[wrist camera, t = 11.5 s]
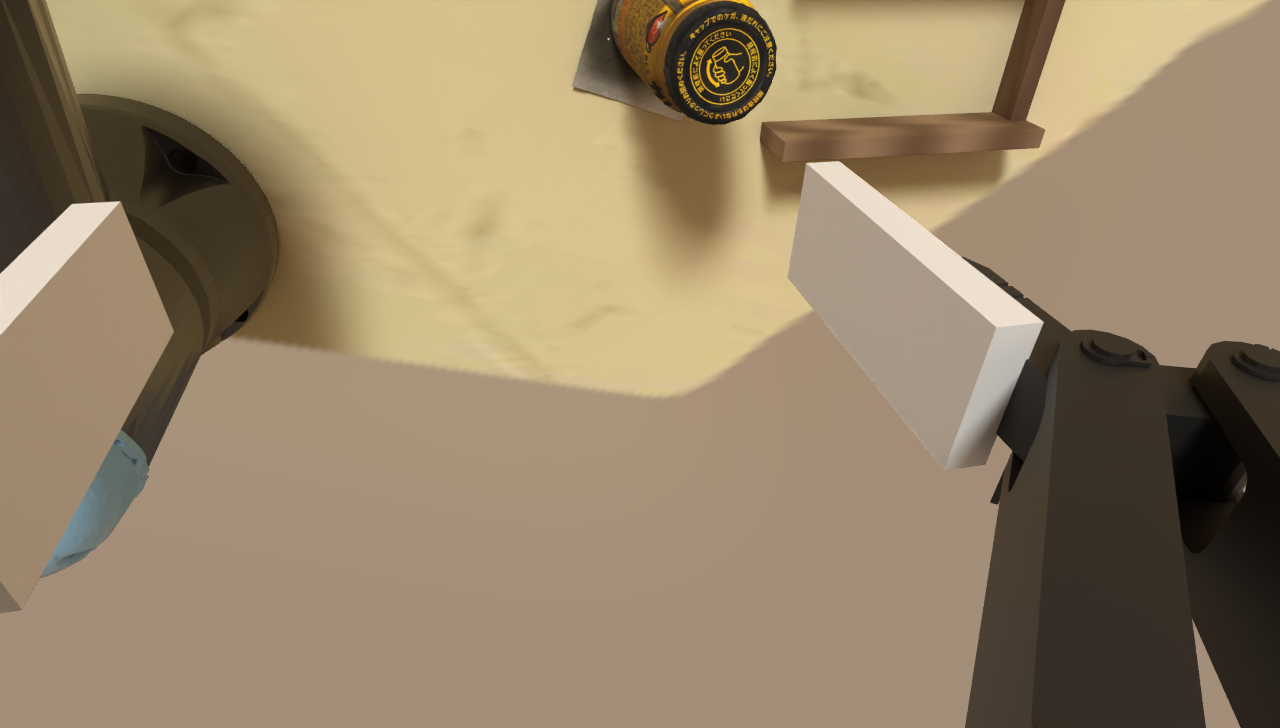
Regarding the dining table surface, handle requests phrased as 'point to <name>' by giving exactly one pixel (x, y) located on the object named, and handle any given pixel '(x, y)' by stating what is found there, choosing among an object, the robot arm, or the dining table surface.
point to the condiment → (679, 57)
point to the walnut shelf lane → (936, 131)
